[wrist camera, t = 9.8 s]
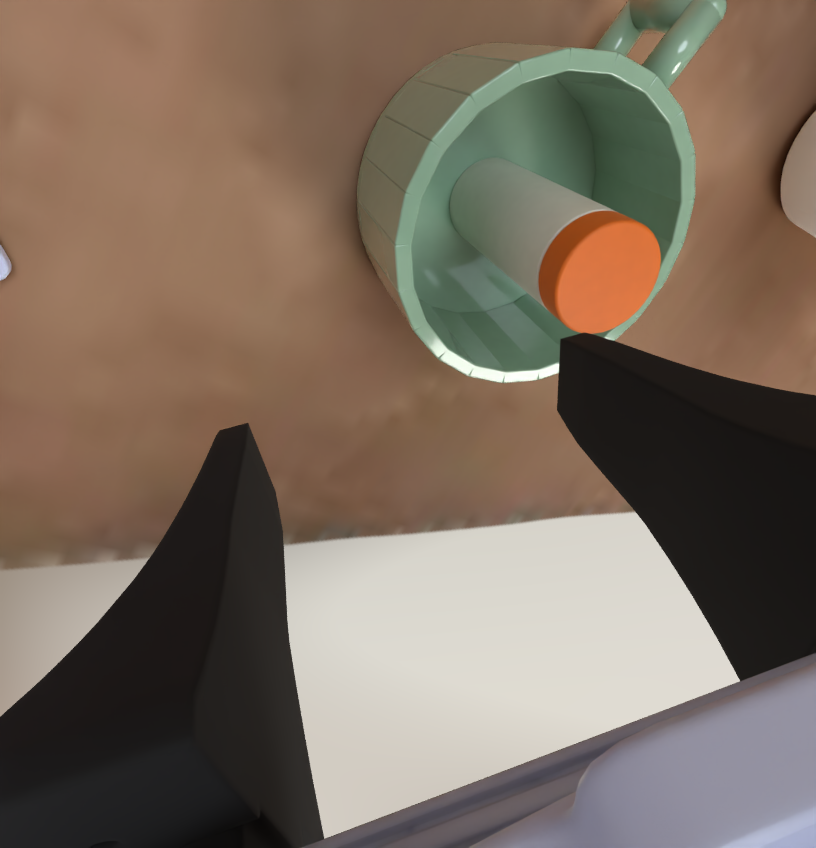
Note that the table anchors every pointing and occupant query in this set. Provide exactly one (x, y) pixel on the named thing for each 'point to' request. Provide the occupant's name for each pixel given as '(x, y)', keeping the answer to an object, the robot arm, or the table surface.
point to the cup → (801, 179)
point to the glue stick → (557, 244)
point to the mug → (537, 152)
